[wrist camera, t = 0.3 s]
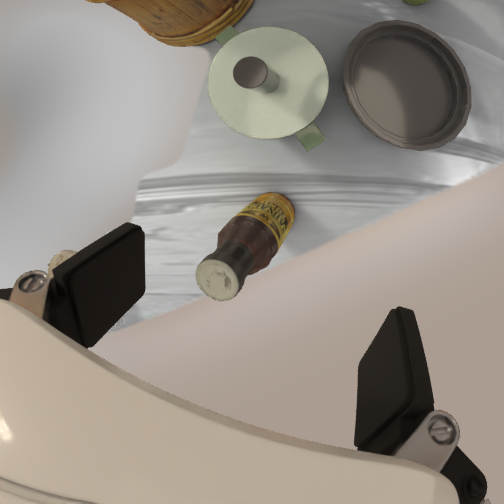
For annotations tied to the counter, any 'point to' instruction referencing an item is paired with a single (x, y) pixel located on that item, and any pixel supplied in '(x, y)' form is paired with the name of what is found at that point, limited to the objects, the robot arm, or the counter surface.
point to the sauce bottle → (246, 245)
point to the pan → (406, 85)
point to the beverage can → (416, 2)
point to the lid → (268, 83)
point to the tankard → (182, 18)
